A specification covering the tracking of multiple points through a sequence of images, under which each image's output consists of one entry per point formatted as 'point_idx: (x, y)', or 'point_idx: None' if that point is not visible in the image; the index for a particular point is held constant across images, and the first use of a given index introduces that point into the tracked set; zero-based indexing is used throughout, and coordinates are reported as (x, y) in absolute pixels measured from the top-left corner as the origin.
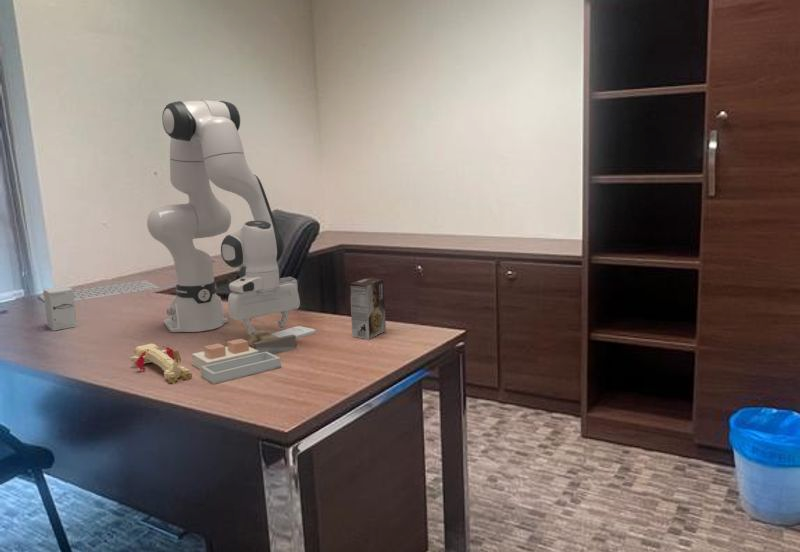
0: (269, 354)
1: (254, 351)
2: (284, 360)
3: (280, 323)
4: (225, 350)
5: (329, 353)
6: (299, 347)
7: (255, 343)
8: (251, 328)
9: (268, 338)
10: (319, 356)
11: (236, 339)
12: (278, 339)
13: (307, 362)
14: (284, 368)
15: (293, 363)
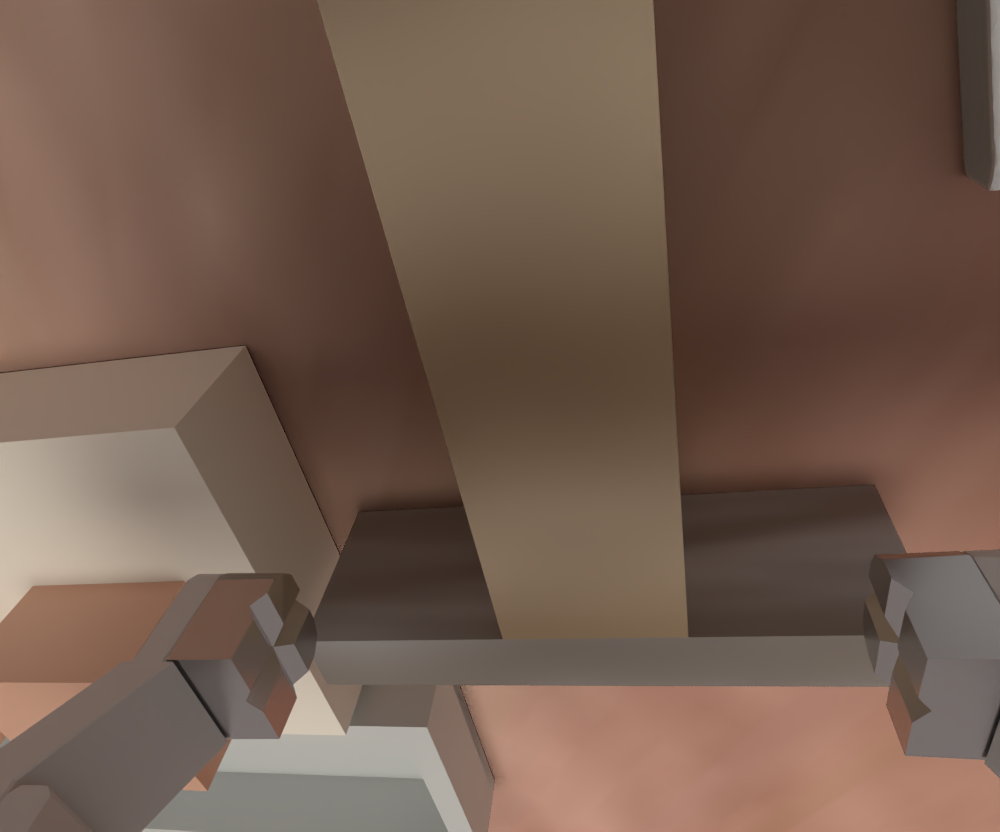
0: (430, 784)
1: (305, 729)
2: (576, 706)
3: (893, 693)
4: (1, 568)
5: (992, 772)
6: (939, 508)
7: (327, 664)
8: (222, 729)
9: (536, 600)
10: (866, 775)
11: (56, 681)
12: (638, 681)
13: (700, 805)
14: (507, 799)
15: (604, 774)
